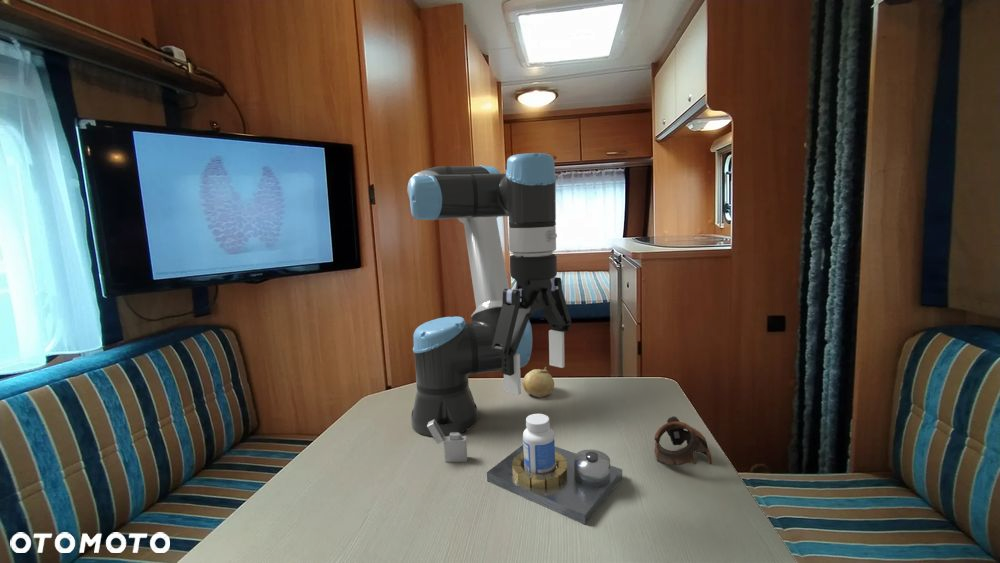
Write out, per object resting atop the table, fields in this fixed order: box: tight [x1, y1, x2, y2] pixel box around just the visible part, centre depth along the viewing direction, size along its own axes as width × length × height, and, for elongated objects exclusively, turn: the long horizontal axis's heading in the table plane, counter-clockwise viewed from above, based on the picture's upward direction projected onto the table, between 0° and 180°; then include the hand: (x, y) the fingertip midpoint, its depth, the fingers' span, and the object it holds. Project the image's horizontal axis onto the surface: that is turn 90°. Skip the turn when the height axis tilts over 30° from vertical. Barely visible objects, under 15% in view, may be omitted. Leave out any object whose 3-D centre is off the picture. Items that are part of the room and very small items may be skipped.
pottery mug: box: [654, 416, 713, 466], centre depth 80 cm, size 12×10×8 cm
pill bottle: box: [522, 413, 556, 475], centre depth 75 cm, size 6×5×10 cm
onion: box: [522, 366, 555, 398], centre depth 111 cm, size 8×8×7 cm
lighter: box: [427, 419, 468, 463], centre depth 83 cm, size 7×2×8 cm, turn 88°
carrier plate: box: [486, 444, 623, 525], centre depth 75 cm, size 19×14×5 cm
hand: (536, 378), depth 73 cm, fingers open, 13 cm apart
